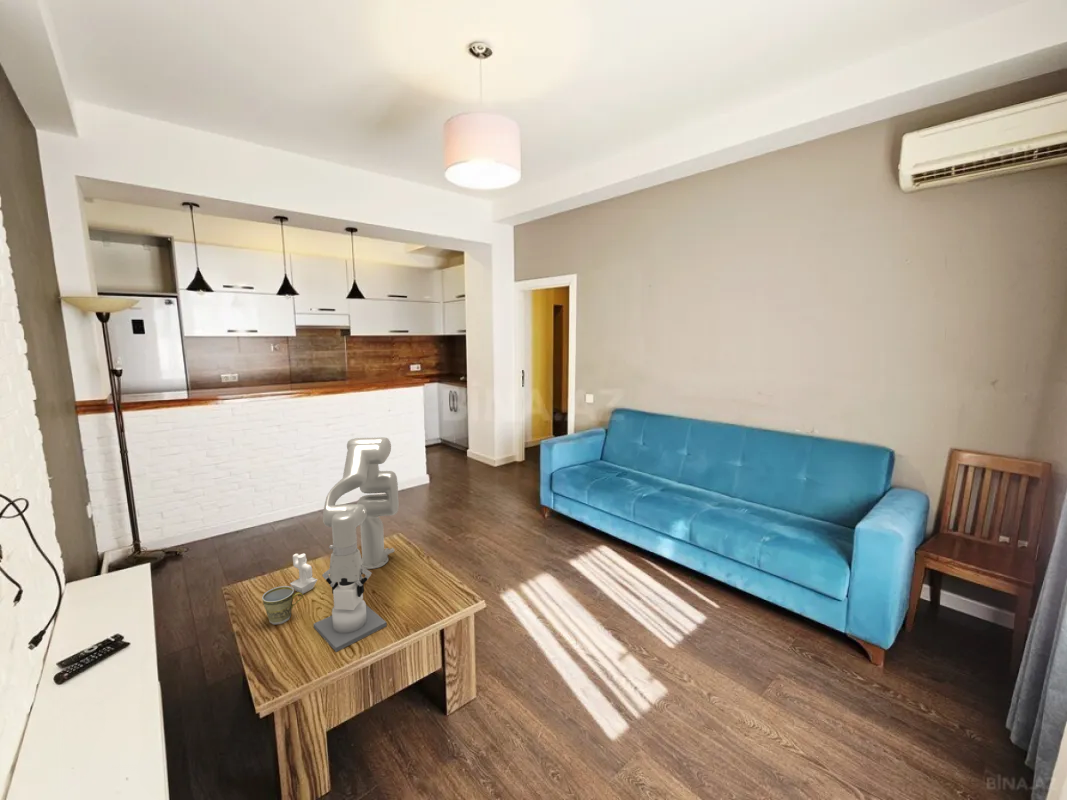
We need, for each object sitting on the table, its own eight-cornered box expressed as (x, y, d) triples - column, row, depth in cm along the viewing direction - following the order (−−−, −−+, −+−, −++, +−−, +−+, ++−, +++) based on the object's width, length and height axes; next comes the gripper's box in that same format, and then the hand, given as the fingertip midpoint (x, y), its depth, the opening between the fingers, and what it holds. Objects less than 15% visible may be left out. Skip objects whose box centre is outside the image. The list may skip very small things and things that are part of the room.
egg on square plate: (362, 605, 173) (361, 587, 171) (386, 626, 160) (385, 606, 159) (313, 627, 159) (312, 608, 158) (336, 652, 147) (334, 631, 146)
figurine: (303, 597, 177) (300, 561, 175) (288, 591, 182) (285, 556, 179) (320, 588, 184) (317, 553, 181) (305, 582, 188) (302, 548, 186)
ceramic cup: (260, 630, 158) (258, 603, 157) (269, 612, 168) (266, 588, 166) (301, 623, 162) (299, 598, 160) (307, 607, 171) (305, 583, 170)
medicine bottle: (363, 598, 162) (361, 567, 160) (353, 610, 155) (351, 578, 153) (344, 597, 163) (342, 566, 161) (333, 609, 156) (331, 577, 154)
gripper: (314, 553, 152) (318, 601, 154) (367, 553, 152) (370, 601, 155) (324, 543, 159) (327, 589, 162) (374, 542, 160) (376, 588, 162)
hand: (348, 594), depth 158 cm, fingers closed on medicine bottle, 7 cm apart
